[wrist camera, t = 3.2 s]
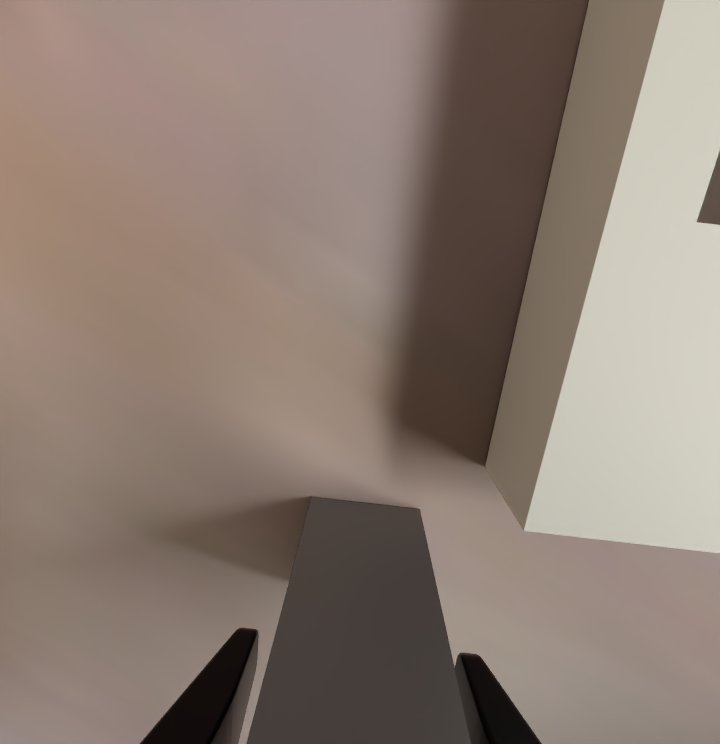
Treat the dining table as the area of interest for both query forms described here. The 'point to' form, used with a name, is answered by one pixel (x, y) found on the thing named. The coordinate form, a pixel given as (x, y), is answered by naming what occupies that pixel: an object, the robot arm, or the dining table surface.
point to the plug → (360, 637)
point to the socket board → (624, 295)
